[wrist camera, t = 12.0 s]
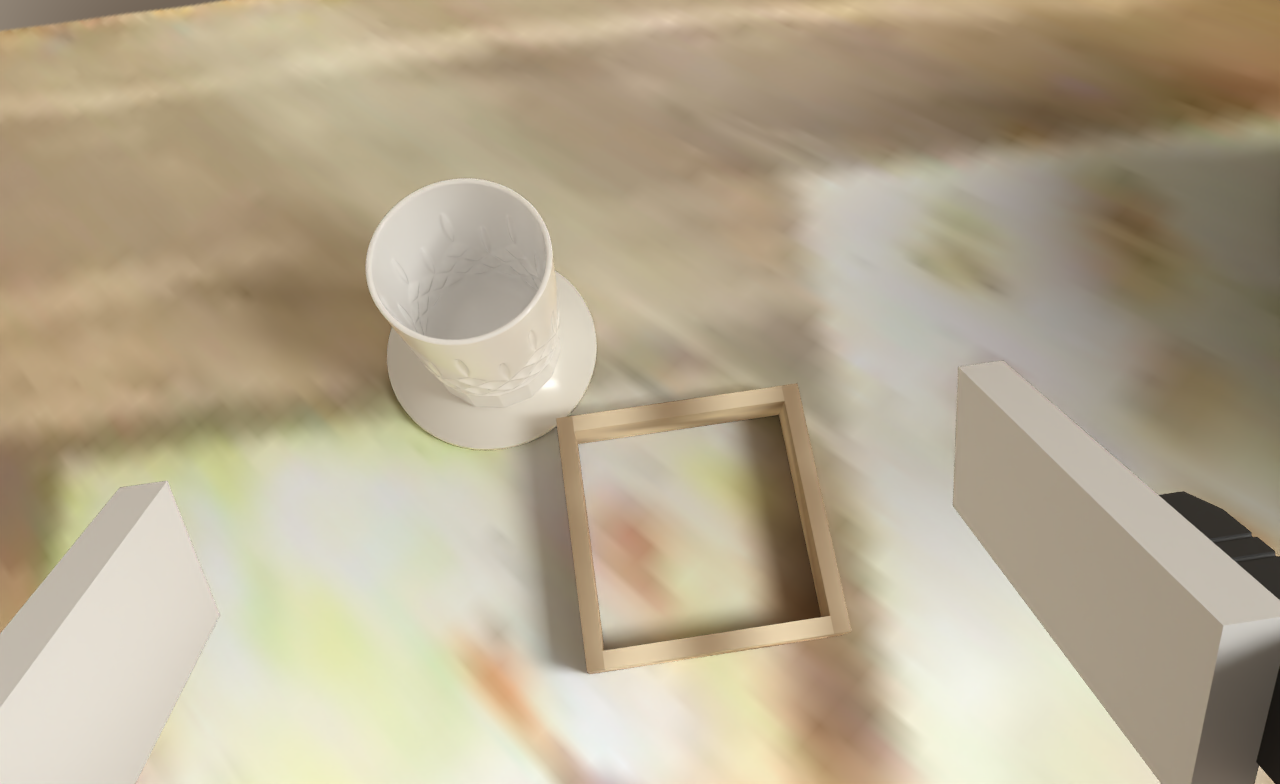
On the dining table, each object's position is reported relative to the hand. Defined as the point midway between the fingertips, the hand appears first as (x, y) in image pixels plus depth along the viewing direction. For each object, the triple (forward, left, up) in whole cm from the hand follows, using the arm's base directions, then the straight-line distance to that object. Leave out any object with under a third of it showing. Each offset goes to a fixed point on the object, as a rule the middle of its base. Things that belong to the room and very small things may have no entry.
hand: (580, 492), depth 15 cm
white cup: (+5, -15, -29) cm, 34 cm away
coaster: (+5, -16, -30) cm, 34 cm away
